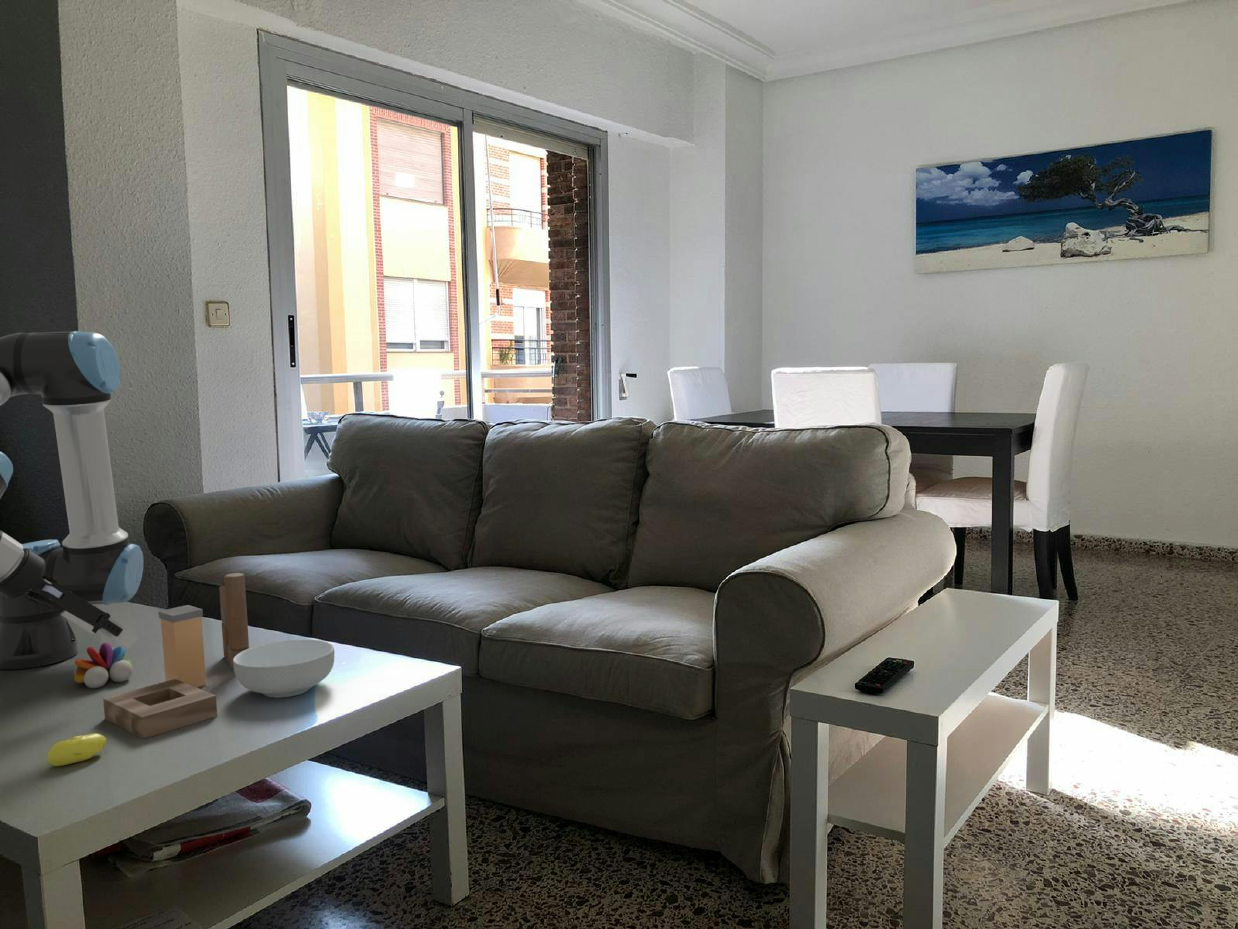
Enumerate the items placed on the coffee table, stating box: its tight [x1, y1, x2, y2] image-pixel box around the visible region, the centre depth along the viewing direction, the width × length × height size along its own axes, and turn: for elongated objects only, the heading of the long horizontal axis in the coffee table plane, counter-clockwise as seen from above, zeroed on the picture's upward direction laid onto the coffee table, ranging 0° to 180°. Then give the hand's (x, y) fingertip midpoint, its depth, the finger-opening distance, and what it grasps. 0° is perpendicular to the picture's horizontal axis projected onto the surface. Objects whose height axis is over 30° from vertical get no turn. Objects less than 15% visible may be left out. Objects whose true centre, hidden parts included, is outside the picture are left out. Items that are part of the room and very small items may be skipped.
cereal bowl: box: [233, 638, 335, 699], centre depth 171 cm, size 17×17×7 cm
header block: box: [102, 679, 218, 740], centre depth 159 cm, size 14×12×4 cm
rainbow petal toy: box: [73, 641, 134, 689], centre depth 178 cm, size 8×10×7 cm
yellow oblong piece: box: [46, 732, 107, 767], centre depth 142 cm, size 4×8×4 cm, turn 134°
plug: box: [158, 604, 207, 688], centre depth 174 cm, size 5×5×14 cm
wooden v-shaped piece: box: [218, 572, 250, 671], centre depth 187 cm, size 4×11×18 cm, turn 31°
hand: (114, 635), depth 164 cm, fingers open, 13 cm apart
